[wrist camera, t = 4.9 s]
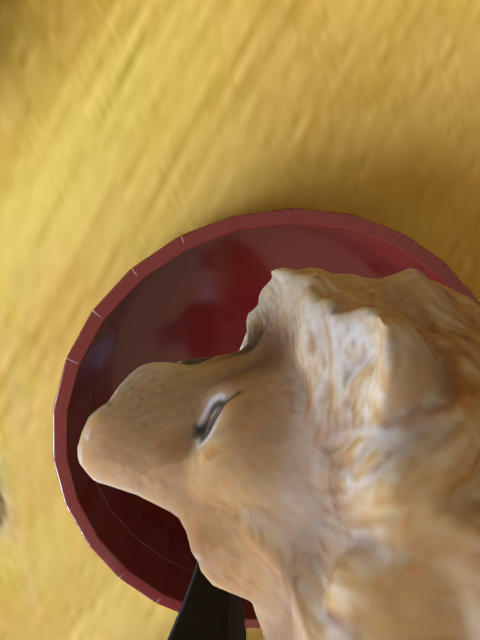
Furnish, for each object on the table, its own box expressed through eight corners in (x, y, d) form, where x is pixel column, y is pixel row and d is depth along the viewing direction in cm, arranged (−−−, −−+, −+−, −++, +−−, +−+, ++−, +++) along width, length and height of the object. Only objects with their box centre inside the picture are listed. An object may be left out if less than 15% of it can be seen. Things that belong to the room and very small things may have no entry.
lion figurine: (136, 279, 10) (-283, 566, 1) (330, 222, 10) (1130, 121, 1) (277, 687, 13) (439, 1555, 5) (420, 636, 14) (832, 1355, 5)
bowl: (451, 529, 20) (500, 590, 17) (124, 585, 19) (106, 661, 16) (452, 190, 16) (517, 179, 13) (42, 242, 15) (-5, 244, 12)
